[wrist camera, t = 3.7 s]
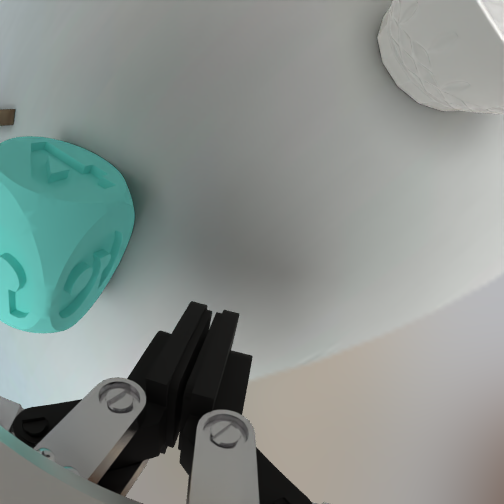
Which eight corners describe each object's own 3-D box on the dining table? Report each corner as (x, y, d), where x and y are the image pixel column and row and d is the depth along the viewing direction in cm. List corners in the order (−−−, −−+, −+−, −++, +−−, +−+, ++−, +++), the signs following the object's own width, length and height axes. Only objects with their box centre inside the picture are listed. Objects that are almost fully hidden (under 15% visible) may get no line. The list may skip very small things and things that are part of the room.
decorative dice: (60, 132, 16) (-36, 143, 8) (154, 187, 16) (64, 226, 9) (32, 232, 18) (-45, 274, 11) (110, 291, 19) (42, 360, 12)
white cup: (362, 101, 14) (465, 54, 4) (366, -18, 11) (424, -121, 1) (481, 137, 13) (609, 156, 4) (480, 25, 10) (581, -14, 1)
